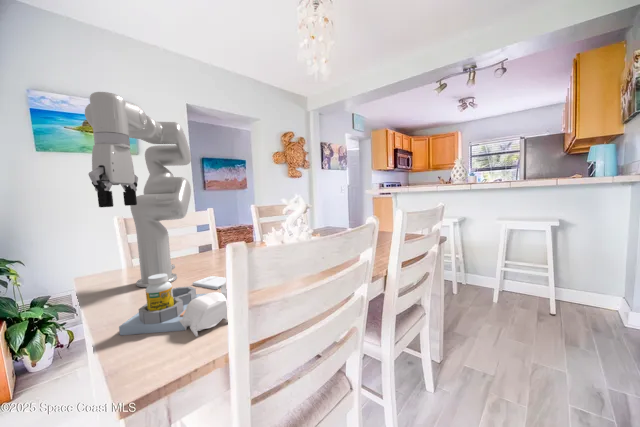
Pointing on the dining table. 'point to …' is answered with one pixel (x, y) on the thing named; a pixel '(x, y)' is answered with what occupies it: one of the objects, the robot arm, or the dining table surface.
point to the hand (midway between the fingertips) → (119, 206)
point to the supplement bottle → (159, 293)
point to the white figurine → (206, 311)
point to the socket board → (151, 327)
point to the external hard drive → (211, 282)
